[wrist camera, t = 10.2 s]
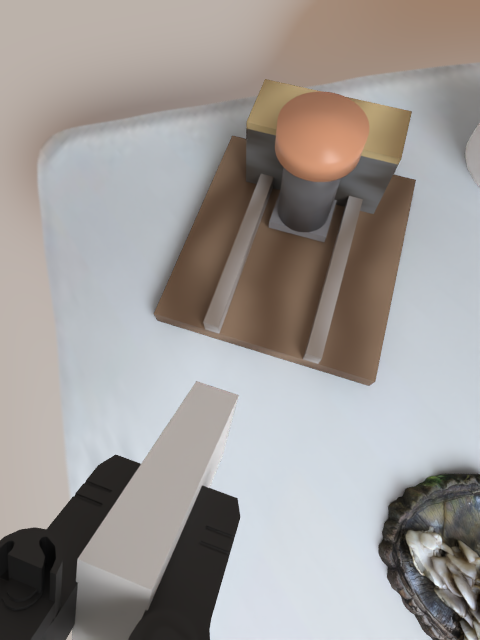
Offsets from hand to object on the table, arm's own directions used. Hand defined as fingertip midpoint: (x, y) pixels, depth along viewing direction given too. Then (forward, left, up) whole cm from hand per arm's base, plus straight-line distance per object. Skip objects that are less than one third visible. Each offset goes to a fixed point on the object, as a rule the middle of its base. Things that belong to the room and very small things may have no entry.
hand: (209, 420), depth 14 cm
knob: (0, -21, -15) cm, 26 cm away
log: (-18, +2, -17) cm, 25 cm away
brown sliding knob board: (0, -18, -17) cm, 25 cm away
